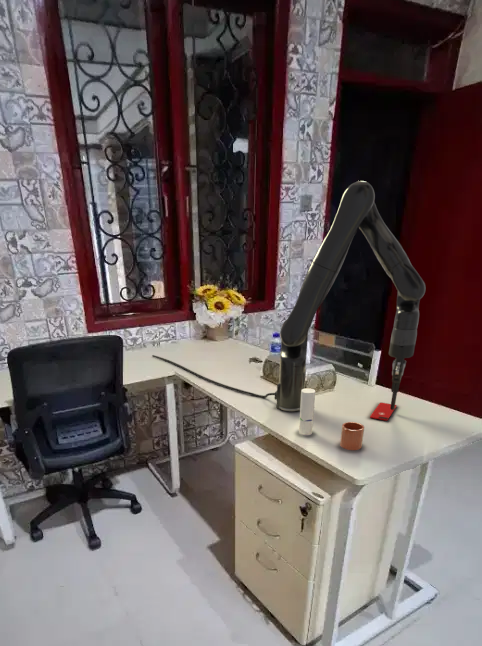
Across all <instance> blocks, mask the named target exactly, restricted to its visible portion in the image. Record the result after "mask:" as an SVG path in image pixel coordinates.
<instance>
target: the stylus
mask: <svg viewBox="0 0 482 646" xmlns="http://www.w3.org/2000/svg"><path fill="white" fill-rule="evenodd" d="M398 379H399V378H398ZM397 395H398V392H397V393H395V392H392V394H391V401H390V404H391V406H390V409H391V410H394V411H395V409H396V408H395V405H396V403H397ZM394 408H395V409H394Z"/></svg>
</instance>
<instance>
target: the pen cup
mask: <svg viewBox="0 0 482 646" xmlns="http://www.w3.org/2000/svg"><path fill="white" fill-rule="evenodd" d="M364 433H365V426H364V424H362V423H360V422H356V421H346V422H344V423H342V425H341V431H340V440H339V441H340V442H339V446H340V447H341V448H342V449H344V450H347V451H359V450H361V449H362V447H363V442H364V441H363V440H364Z"/></svg>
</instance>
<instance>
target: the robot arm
mask: <svg viewBox="0 0 482 646" xmlns="http://www.w3.org/2000/svg"><path fill="white" fill-rule="evenodd" d="M375 199H376V194H375V190H374V188H373V186H372V185H371V184H370V183H369V182H367V181H364V180H360V181H359V180H358V181H356V182H353V183H351V184H350V185H348V186H347V187H346V189H345V190H344V192H343V193H342V196H341V199H340V203H339V206H338V209H337V211H336V214H335V216H334V219H333V222H332V224H331V226H330V229H329V230H328V233H327V234H326V236H325V237H324V239H323V241H322V242H321V243H320V246H319V247H318V249H317V251H316V252H315V255H314V257H313V259H312V261H311V262H310V265H309V267H308V269H307V271H306V274H305V276H304V279H303V281H302V284H301V287H300V290H299V294H298V297H297V299H296V301H295V303H294V306H293V308H292V310H291V312H290V313H289V315H288V317H287V319H285V321H284V322H283V323H282V325H281V328H280V330H279V334H280V335H279V336H280V339H281V340H280V354H279V374H278V383H277V384H276V387H277V388H276V391H274V392H269V393H265V395H260V394H257V393H254V392H250V391H246V390H243V389H239V388H236V387H233V386H231V385H230V386H229V385H227V384H223V383H220V382H218V381H216V380H213V379H210V378H208V377H205V376H203V375H202V374H200V373H197V372H195V371H193V370H191V369H189V368H187V367H185V366H183V365H181V364H178V363H176V362H174V361H172V360H169V359H168V358H164V357H161V356H158V355H154V354H152V355H151V357H153V358H155V359H158V360H163V361H164V362H168V363H170V364H173V365H175V366H176V367H179V368H181V369H183V370H185V371H187V372H188V373H191V374H193V375H195V376H196V377H199V378H201V379H203V380H205V381H208V382H211V383H213V384H215V385H218V386H221V387H224V388H226V389H228V390H229V389H230V390H233V391H236V392H239V393H243V394H246V395H249V396H253V397H257V398H261V399H266V398H268V397H269V396H274V400H275V401H276V409H279V410H281V411H283V412H289V413H290V412H293V413H294V412H298V411H299V412H300V405H301V390H302V389H305V383H306V381H305V380H306V367H307V353H308V338H309V331H310V328H311V326H312V323H313V320H314V318H315V316H316V314H317V311H318V310H319V308H320V307H321V305H322V303H323V302H324V300H325V299H326V297H327V296H328V293H329V292H330V291H331V289H332V287H333V285H334V283H335V281H336V279H337V277H338V275H339V273H340V271H341V269H342V266H343V264H344V262H345V260H346V257H347V255H348V252H349V249H350V246H351V244H352V241H353V239H354V236H355V235H356V234H357V231H358V229H359V230H360V231H361V233H362V234H363V235H364V237H365V239H366V240H367V242H368V244H369V246H370V248H371V249H372V252H373V254H374V255H375V257H376V259H377V261H378V262H379V264H380V265H381V267H382V269H383V270H384V273H386V275H387V276H388V277H389V278H390V279H391V281H392V283H393V285H394V286H395V288H396V290H397V292H396V293H397V295H396V311H395V316H394V321H393V328H392V331H391V337H390V342H389V349H388V355H389V356H390V357H391V358H395V359H393V361H392V371H391V376H392V379H391V382H392V384H391V389H390V392H391V393H393V392H395V393H397V394H398V393H399V390H400V385H401V381H402V377H403V376H404V372H405V368H406V365H407V360H405V359H410V358H412V357H413V356H414V354H415V348H416V343H417V336H418V325H419V321H420V310H419V309H420V301H421V299H422V298H423V297H424V295H425V293H426V283H425V281H424V280H423V278H422V277H421V276H420V274H419V273H418V271H417V270H416V269H415V267H414V266H413V265H412V263H411V261H410V259H409V256H408V255H407V253H406V251H405V250H404V248H403V246H402V244H401V243H400V242H399V240H398V239H397V238H396V237H395V235H394V234H393V232H392V231H391V230H390V229H389V227H388V225H386V223H385V222H384V220H383V218H382V216H381V214H380V213H379V210H378V208H377V205H376V203H375ZM398 378H399V379H398Z"/></svg>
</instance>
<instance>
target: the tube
mask: <svg viewBox="0 0 482 646" xmlns="http://www.w3.org/2000/svg"><path fill="white" fill-rule="evenodd" d="M315 401H316V389H314V388H310V387H309V388H307V387H306V388H305V387H304V389H302V390H301V405H300V410H299V420H298V421H299V422H298V423H299V424H298V434H299V435H302V436H310V435H312V434H313V427H314V415H315V414H314V413H315Z"/></svg>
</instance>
